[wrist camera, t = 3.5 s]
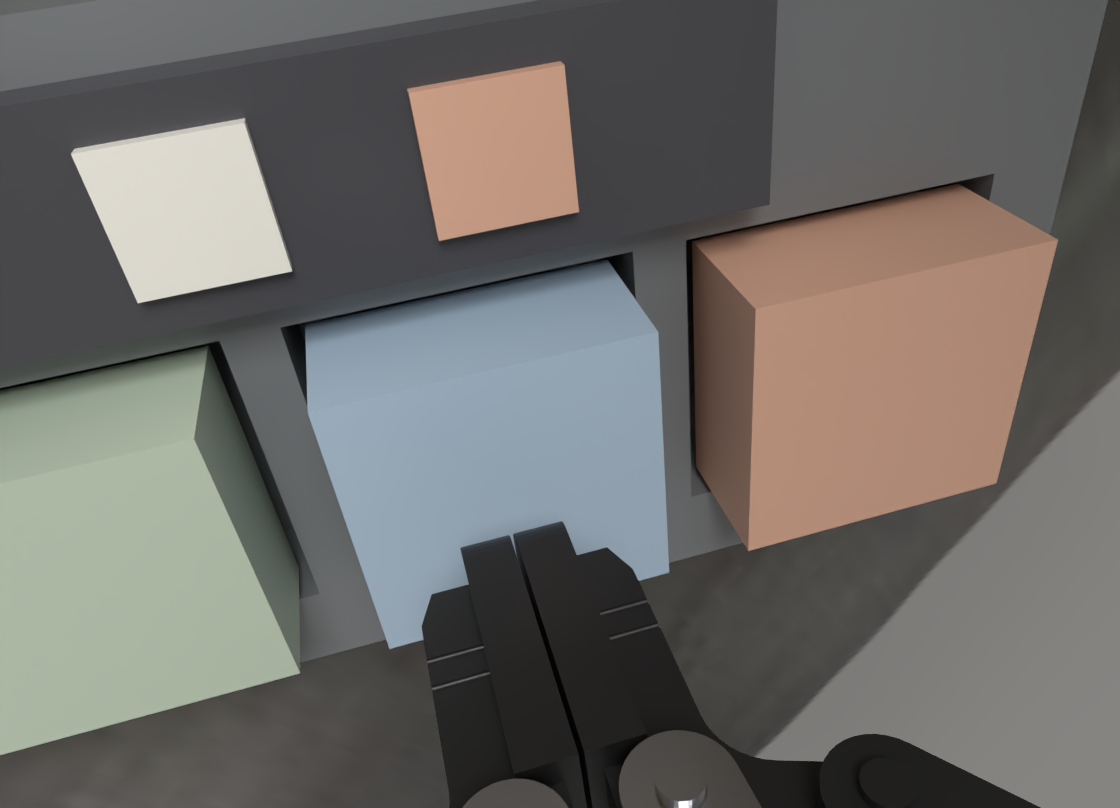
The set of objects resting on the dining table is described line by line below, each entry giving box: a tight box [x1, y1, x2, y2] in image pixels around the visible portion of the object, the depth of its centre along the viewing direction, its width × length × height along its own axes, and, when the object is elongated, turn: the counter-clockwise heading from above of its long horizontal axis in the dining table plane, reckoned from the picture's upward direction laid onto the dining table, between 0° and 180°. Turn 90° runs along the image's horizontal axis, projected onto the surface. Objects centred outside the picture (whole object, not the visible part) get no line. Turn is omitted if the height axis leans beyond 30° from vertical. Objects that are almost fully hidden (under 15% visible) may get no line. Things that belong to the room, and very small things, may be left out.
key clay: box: [692, 184, 1058, 551], centre depth 15 cm, size 5×5×2 cm
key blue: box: [305, 260, 669, 649], centre depth 14 cm, size 5×5×2 cm
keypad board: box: [0, 0, 1108, 663], centre depth 15 cm, size 12×28×4 cm, turn 97°
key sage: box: [0, 346, 300, 755], centre depth 14 cm, size 5×5×2 cm
